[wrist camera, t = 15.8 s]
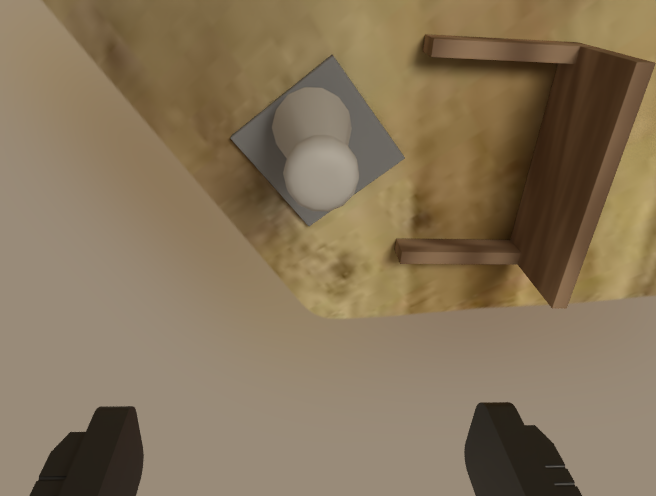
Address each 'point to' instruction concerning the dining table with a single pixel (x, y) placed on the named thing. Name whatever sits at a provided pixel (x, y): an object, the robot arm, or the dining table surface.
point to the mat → (365, 143)
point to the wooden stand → (553, 160)
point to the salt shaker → (316, 148)
